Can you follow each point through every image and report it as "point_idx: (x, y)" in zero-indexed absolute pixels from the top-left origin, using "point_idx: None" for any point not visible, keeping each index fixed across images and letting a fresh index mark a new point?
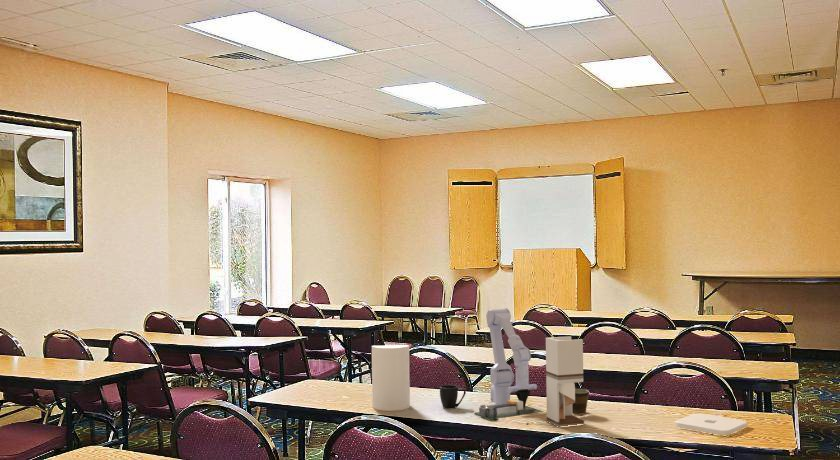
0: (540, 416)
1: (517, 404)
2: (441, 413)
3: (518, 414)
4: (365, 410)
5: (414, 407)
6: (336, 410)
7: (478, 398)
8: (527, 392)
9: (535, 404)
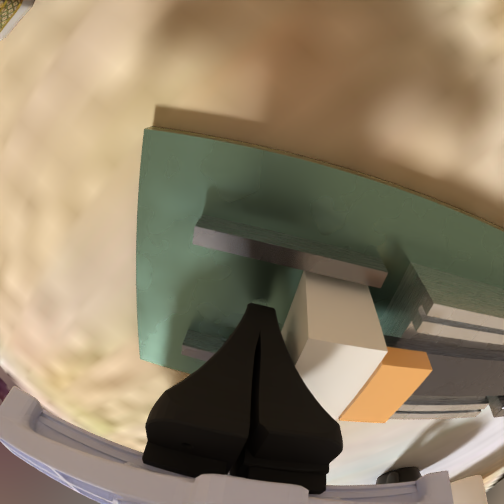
0: (277, 59)
1: (381, 332)
2: (485, 439)
3: (429, 227)
4: (487, 479)
5: None
6: (495, 483)
7: None
8: (222, 419)
9: (60, 337)
